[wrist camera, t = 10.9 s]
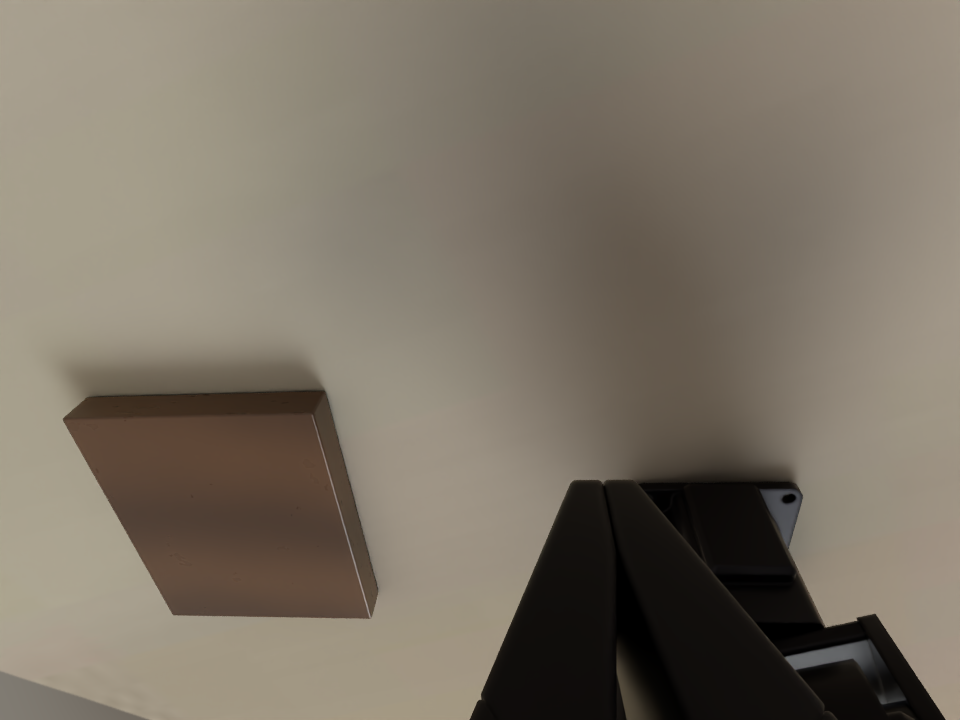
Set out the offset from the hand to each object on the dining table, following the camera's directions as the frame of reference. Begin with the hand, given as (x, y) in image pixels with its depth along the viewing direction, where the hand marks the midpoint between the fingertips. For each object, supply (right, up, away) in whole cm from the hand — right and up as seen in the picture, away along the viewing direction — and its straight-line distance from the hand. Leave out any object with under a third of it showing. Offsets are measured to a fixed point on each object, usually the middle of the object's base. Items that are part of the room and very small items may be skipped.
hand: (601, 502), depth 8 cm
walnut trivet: (-12, -5, +18) cm, 22 cm away
